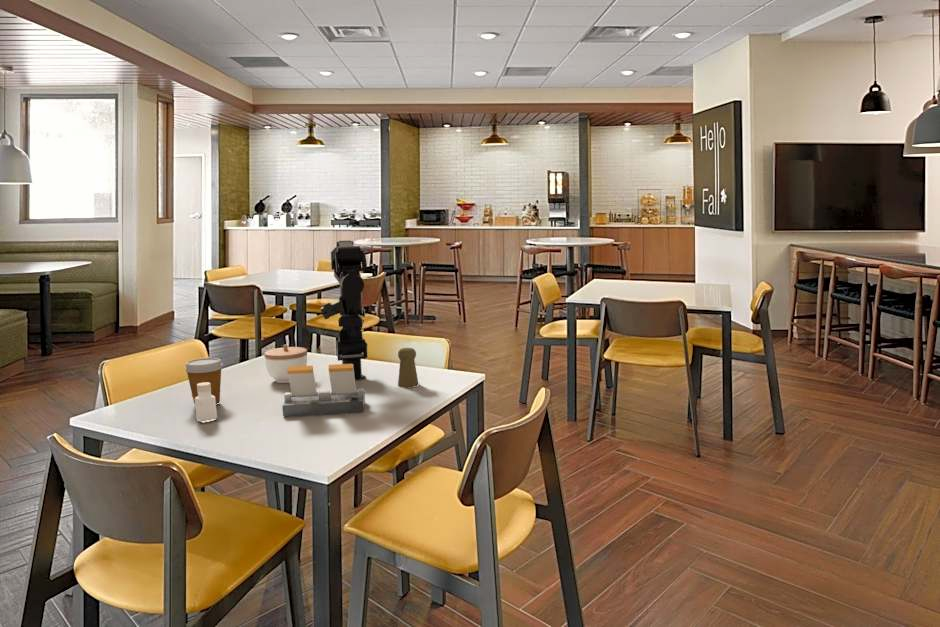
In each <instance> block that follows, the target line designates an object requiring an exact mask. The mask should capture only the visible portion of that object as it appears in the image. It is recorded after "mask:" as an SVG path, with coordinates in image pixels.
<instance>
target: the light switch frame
mask: <svg viewBox="0 0 940 627" xmlns="http://www.w3.org/2000/svg"><path fill="white" fill-rule="evenodd" d="M291 394H292V392H285V393H284V394H283V398H284V402H283V403H282V417H283V416H295V417H309V415H310V416H311V415H313V416H328V415H331V416H332V415H346V414H347V413H348V415H349V414H363V413H365V406H366V392H365V389H364V388H358V390H357V394H345V395H331V390H329V389H328V390H319V391H318V396H307V397H291ZM311 417H312V416H311Z"/></svg>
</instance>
